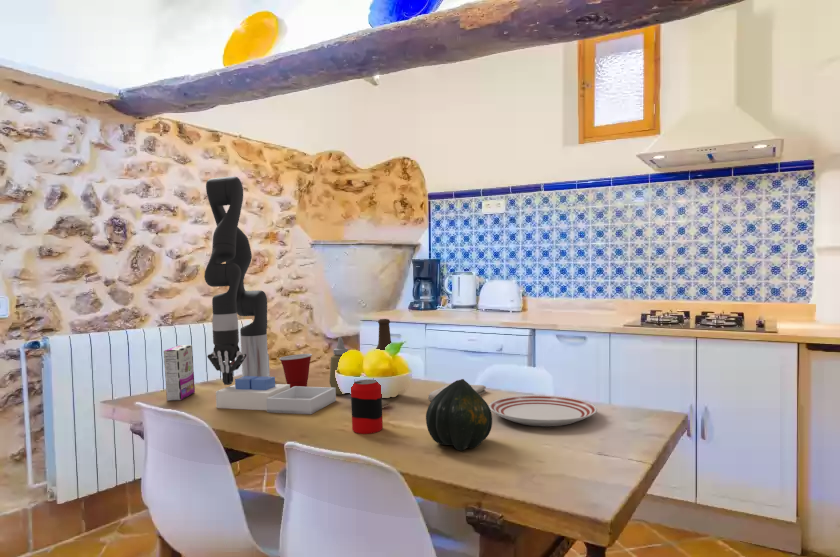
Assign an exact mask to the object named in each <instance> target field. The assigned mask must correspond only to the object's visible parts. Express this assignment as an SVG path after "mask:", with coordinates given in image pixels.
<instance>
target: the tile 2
mask: <svg viewBox="0 0 840 557" xmlns="http://www.w3.org/2000/svg"><path fill="white" fill-rule="evenodd" d="M275 384H276V377H275V376H270V377H264V376H260V377H257V378H255V379H252V380H251V388H252V390H268V389H270V388H273V387H275Z"/></svg>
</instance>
